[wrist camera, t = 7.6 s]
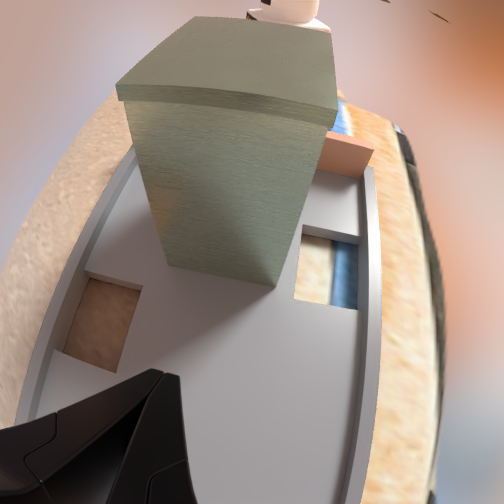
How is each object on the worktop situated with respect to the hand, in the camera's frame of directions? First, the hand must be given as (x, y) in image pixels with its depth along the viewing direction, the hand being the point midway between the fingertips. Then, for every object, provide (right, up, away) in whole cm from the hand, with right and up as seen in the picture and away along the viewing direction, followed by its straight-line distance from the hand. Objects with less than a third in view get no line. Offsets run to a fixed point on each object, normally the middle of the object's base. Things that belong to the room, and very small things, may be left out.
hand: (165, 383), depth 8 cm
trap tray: (0, 0, +9) cm, 8 cm away
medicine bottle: (+6, +25, +24) cm, 35 cm away
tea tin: (+1, +5, +11) cm, 12 cm away
